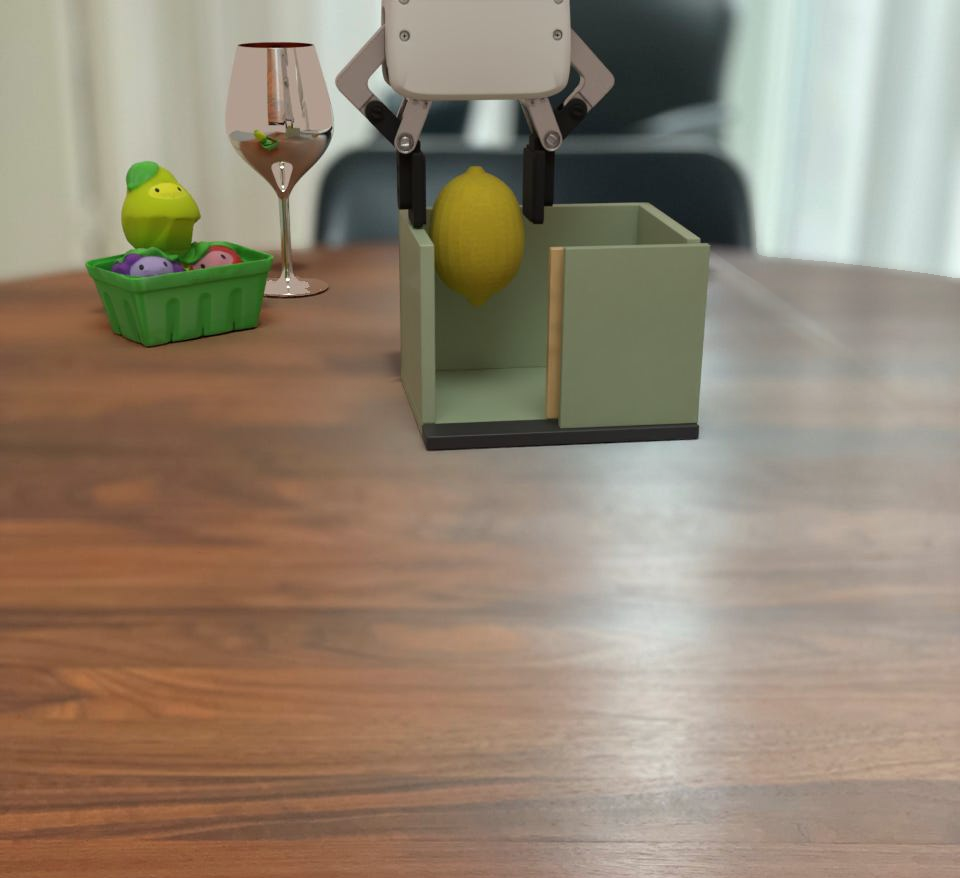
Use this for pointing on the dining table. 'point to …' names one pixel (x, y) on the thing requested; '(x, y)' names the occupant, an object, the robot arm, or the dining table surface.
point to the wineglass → (279, 126)
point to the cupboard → (584, 334)
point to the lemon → (477, 235)
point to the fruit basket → (175, 269)
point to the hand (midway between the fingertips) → (475, 218)
